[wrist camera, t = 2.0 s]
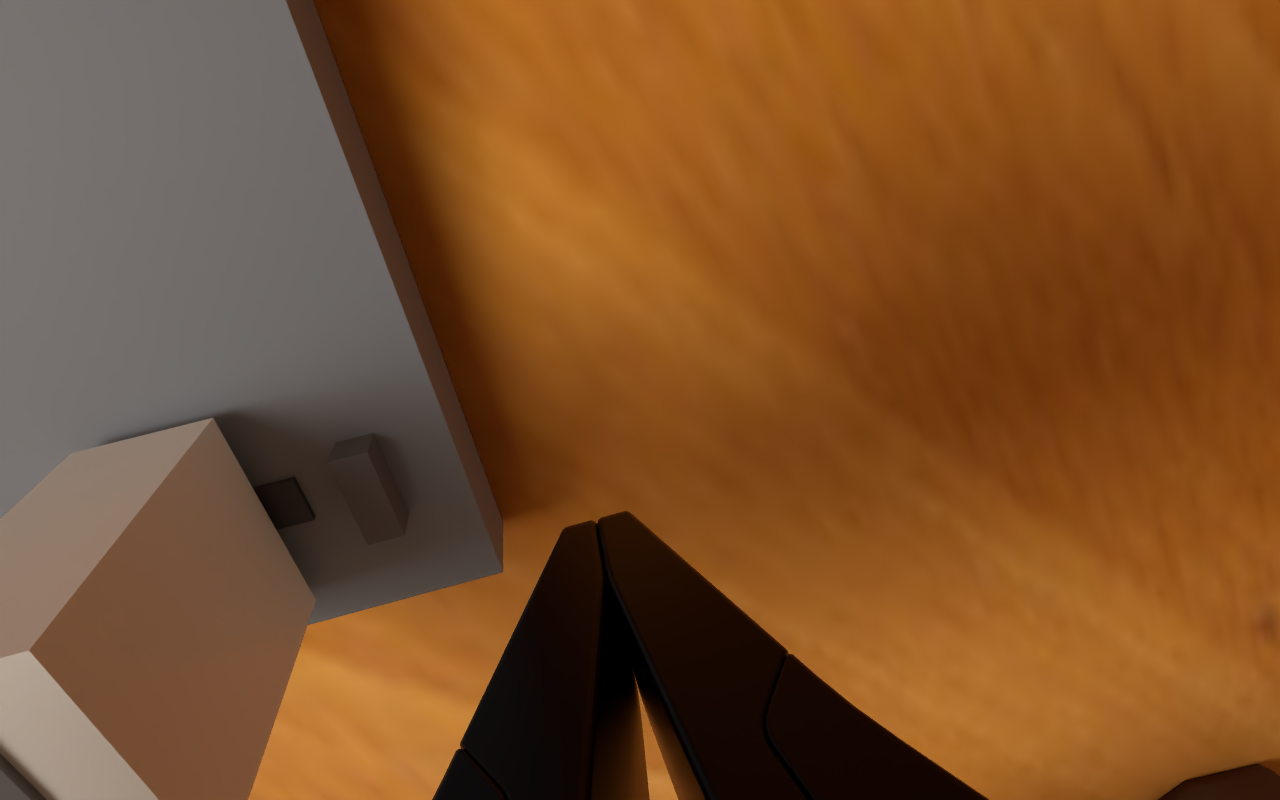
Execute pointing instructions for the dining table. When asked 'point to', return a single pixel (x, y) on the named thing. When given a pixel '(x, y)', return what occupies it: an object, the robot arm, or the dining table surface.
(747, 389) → the dining table surface
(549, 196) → the dining table surface
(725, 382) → the dining table surface
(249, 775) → the fader
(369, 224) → the console
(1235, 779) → the beer bottle
